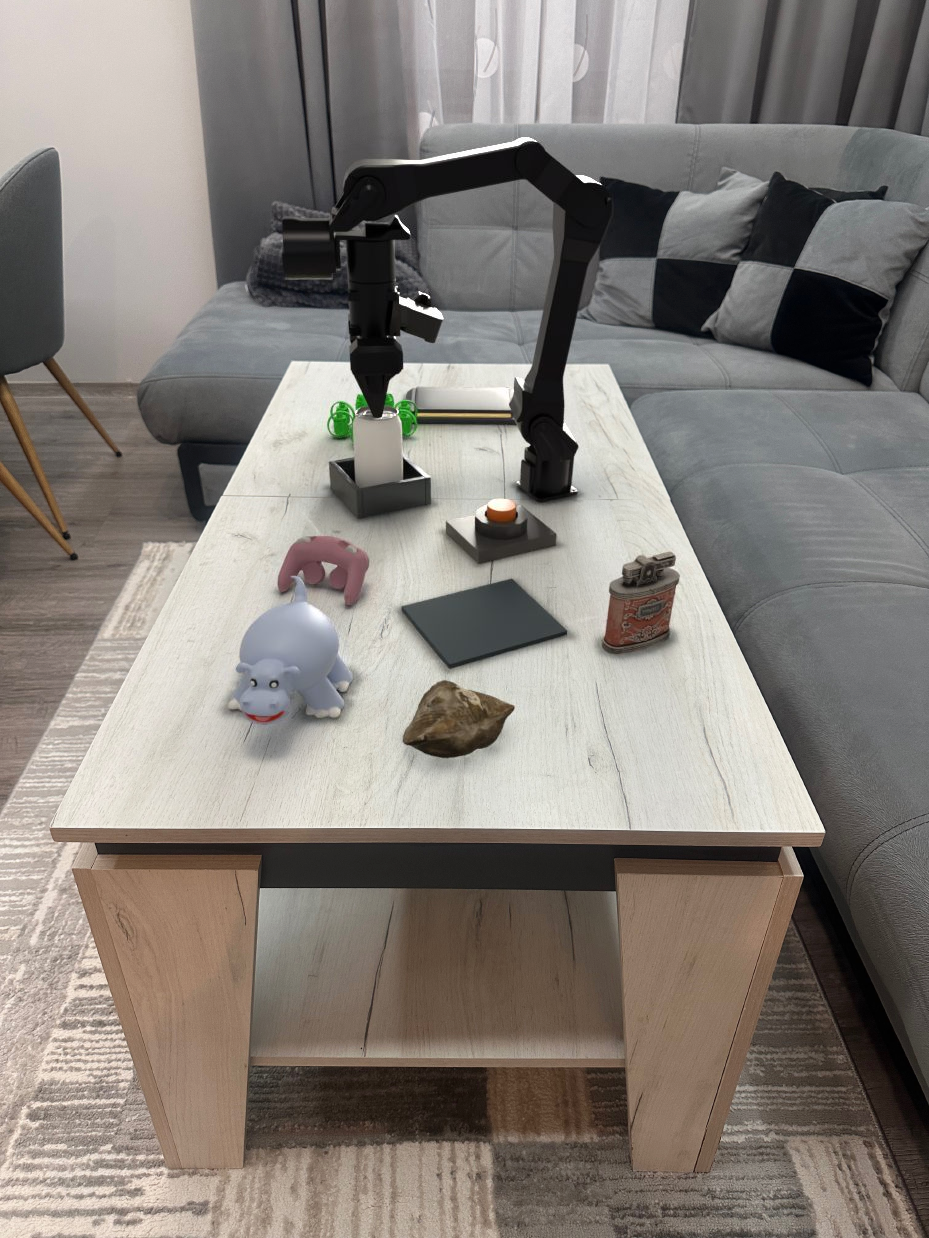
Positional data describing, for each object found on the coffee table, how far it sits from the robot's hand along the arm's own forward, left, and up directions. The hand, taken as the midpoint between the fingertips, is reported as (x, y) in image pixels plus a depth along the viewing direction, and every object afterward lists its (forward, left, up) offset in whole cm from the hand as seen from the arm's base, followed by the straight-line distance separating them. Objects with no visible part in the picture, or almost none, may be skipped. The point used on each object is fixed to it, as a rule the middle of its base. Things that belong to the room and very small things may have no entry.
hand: (376, 404), depth 114 cm
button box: (-9, +18, -13) cm, 24 cm away
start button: (-9, +18, -10) cm, 22 cm away
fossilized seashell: (+13, +50, -13) cm, 53 cm away
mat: (+2, +34, -13) cm, 36 cm away
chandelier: (-8, -22, -13) cm, 27 cm away
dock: (0, 0, -13) cm, 13 cm away
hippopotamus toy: (+25, +38, -13) cm, 47 cm away
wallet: (-26, -26, -13) cm, 39 cm away
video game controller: (+15, +20, -13) cm, 28 cm away
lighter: (-11, +44, -13) cm, 47 cm away
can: (0, 0, -13) cm, 13 cm away
